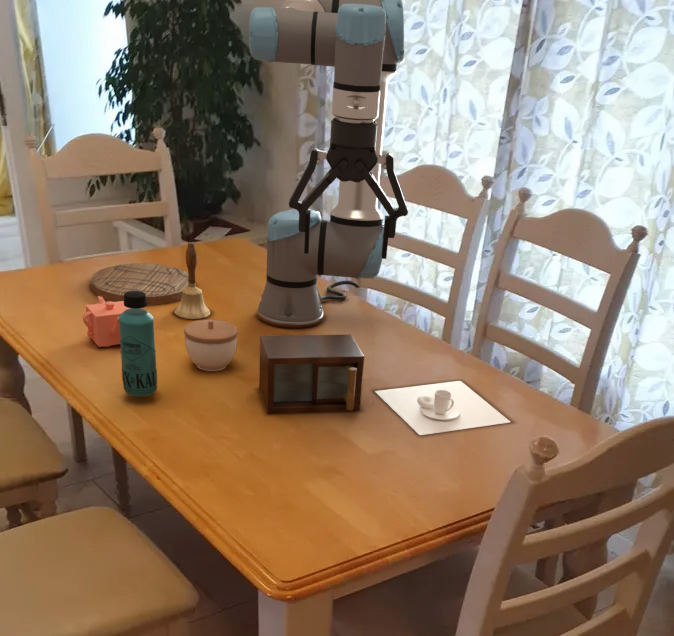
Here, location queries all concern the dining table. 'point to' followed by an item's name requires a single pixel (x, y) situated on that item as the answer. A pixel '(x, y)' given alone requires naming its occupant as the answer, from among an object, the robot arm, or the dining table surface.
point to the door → (334, 383)
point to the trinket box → (211, 343)
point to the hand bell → (192, 291)
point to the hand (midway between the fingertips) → (345, 254)
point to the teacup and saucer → (441, 407)
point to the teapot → (104, 322)
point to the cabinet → (303, 370)
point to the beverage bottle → (137, 346)
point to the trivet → (140, 282)
